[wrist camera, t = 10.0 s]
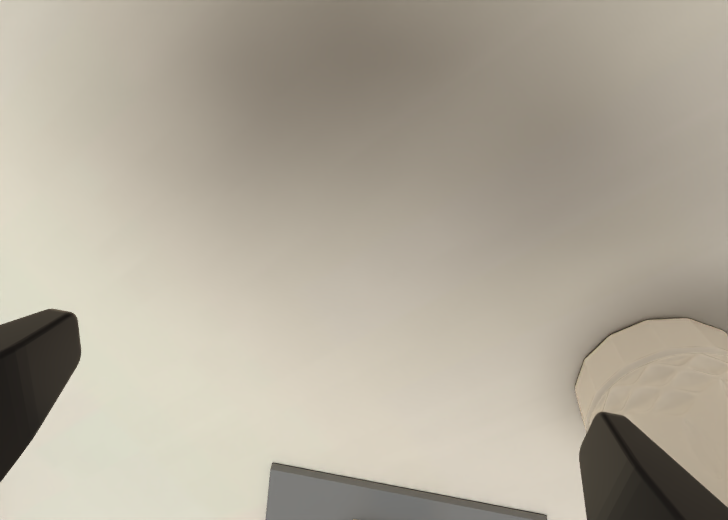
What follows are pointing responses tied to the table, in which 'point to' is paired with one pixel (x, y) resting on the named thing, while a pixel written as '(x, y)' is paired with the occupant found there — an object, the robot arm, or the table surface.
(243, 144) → the table surface
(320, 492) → the slate pad
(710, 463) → the white cup
